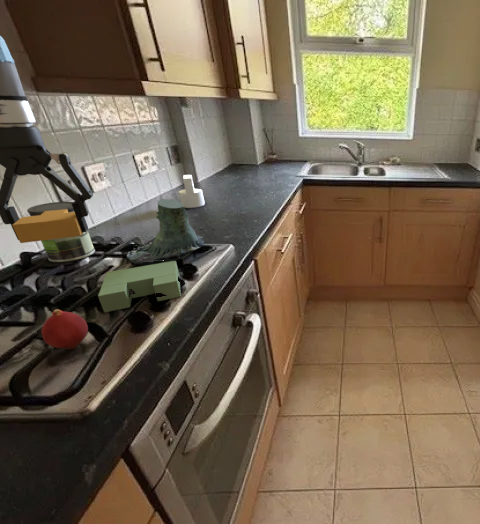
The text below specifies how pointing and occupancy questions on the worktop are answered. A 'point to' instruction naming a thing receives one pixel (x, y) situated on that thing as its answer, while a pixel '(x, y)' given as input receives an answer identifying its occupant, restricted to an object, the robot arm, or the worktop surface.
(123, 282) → the green notched block
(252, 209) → the worktop surface
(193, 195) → the base with upright slab
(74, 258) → the coffee can
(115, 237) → the worktop surface
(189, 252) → the tree stump
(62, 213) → the ochre pad
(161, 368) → the worktop surface
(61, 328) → the onion
